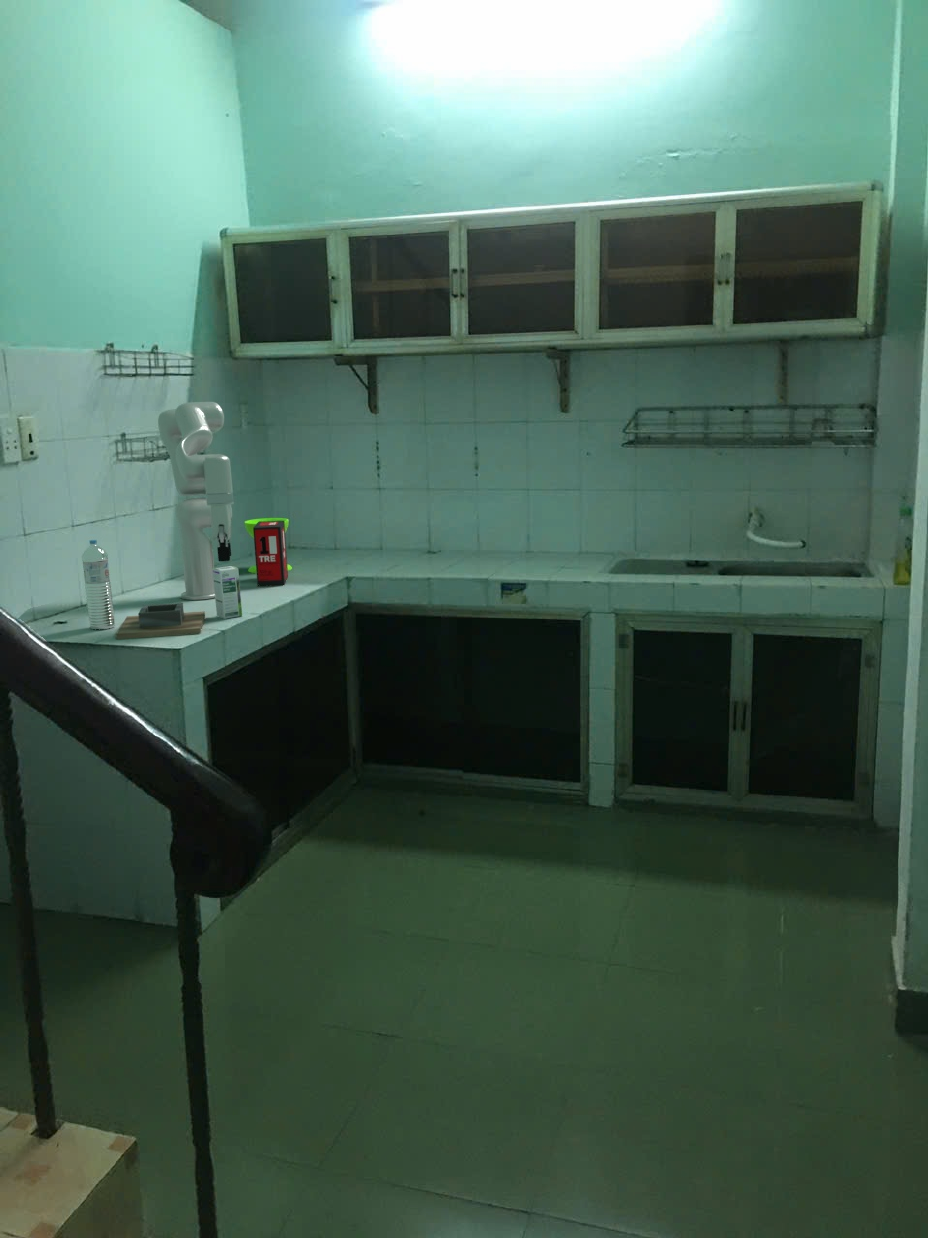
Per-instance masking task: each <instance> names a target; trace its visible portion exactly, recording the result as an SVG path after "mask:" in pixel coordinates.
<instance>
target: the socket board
mask: <svg viewBox="0 0 928 1238" xmlns="http://www.w3.org/2000/svg"><path fill="white" fill-rule="evenodd" d="M205 619H206V611H204V610H203V611H189V612H188V611H187V612H184V603H183V602H182V603H181V602H179V603H164V604H163V603H162V604H147V605H142V606H141V608H140V610H139V612H138V615H130V616H129V615H128V616H126V617H125V619H124V621H123V623H122V624H121V625H120V627H119V629H117V632H116V634H115V637H116V640H125V639H127V640H128V639H137V638H138V639H140V638H141V639H142V638H154V637H155V638H156V637H169V636H170V637H171V636H182V635H186V636H187V635H197V634H198V635H200V634H199V633H201V634H202V630H203V626H204V623H203V622H205ZM201 629H202V630H201Z"/></svg>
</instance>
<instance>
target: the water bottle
mask: <svg viewBox="0 0 928 1238" xmlns="http://www.w3.org/2000/svg"><path fill="white" fill-rule="evenodd" d="M97 543H98V542H97V539H91V540H89V545H90V546H89V545H88V547H87V548H86V549H85V550H84V551H83V553H82V554H81V561H82V566H83V567H82V568H83V575H84V576H83V577H84V586H85V596H86V599H85V600H86V604H87V607H86V608H87V615H88V623H89V627H90V629H91V630H93V629H95V630H94V631H97V630H96V629H99V630H98V631H101V630H100V629H104V630H107V629H109V628H110V629H113V628H114V627H115V626H116V625H115V624H116V623H115V622H116V621H115V613H114V612H115V611H114V602H113V595H112V585H111V584H112V583H111V579H110V570H109V557H108V553H107V552H106V550H104V549H103V548H102V547H101V546H99V545H97Z"/></svg>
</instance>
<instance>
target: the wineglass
mask: <svg viewBox="0 0 928 1238" xmlns="http://www.w3.org/2000/svg"><path fill="white" fill-rule="evenodd" d="M259 521H284V523H285V533H287V529H288V527H289V521H290V520H289V519H288V518H284V517H283V518H281V517H268V518H255V519H248V520H245V521H244V527H245V530H246V532H247V533H248V534H249V536H250V537H251V538H253V539H254V531H253V528H254V526H255V525H256V524H257V523H258V522H259ZM287 567H288V571H291V570H292V569H293V567H292V566H291V565H290V564H288V563H287ZM247 572H249V573H250V574H251V573H252V574H257V571H256V564H255V565H252V566H250V567H249V568H248V570H247Z"/></svg>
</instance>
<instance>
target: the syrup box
mask: <svg viewBox="0 0 928 1238" xmlns="http://www.w3.org/2000/svg"><path fill="white" fill-rule="evenodd" d="M212 570H213V581H214V591H215V598H214V599H215V600H214V601H215V608H216V610H215V611H216V616H217V617H218V618H220V617H221V618H220V619H223V620H226V619H232V618H238V617H239V618H240V617H242V616H243V610H242V608H243V607H242V599H241V598H242V597H241V587H240V577H239V576H240V575H239V568H238V567H237V566H234V565H232V566H231V565H230V566H223V567H216V568H215V567H214V568H213V569H212Z"/></svg>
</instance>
